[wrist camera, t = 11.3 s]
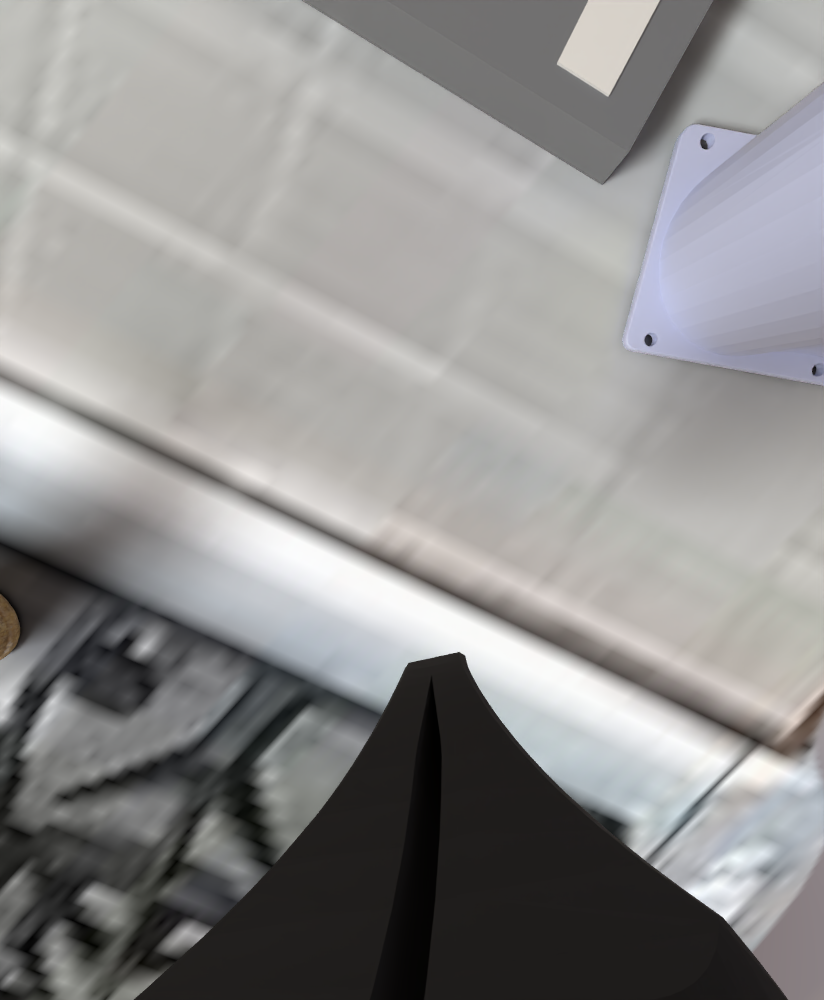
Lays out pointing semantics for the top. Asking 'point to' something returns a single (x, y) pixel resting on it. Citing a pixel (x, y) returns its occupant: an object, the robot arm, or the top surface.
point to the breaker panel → (540, 62)
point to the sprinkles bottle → (8, 628)
